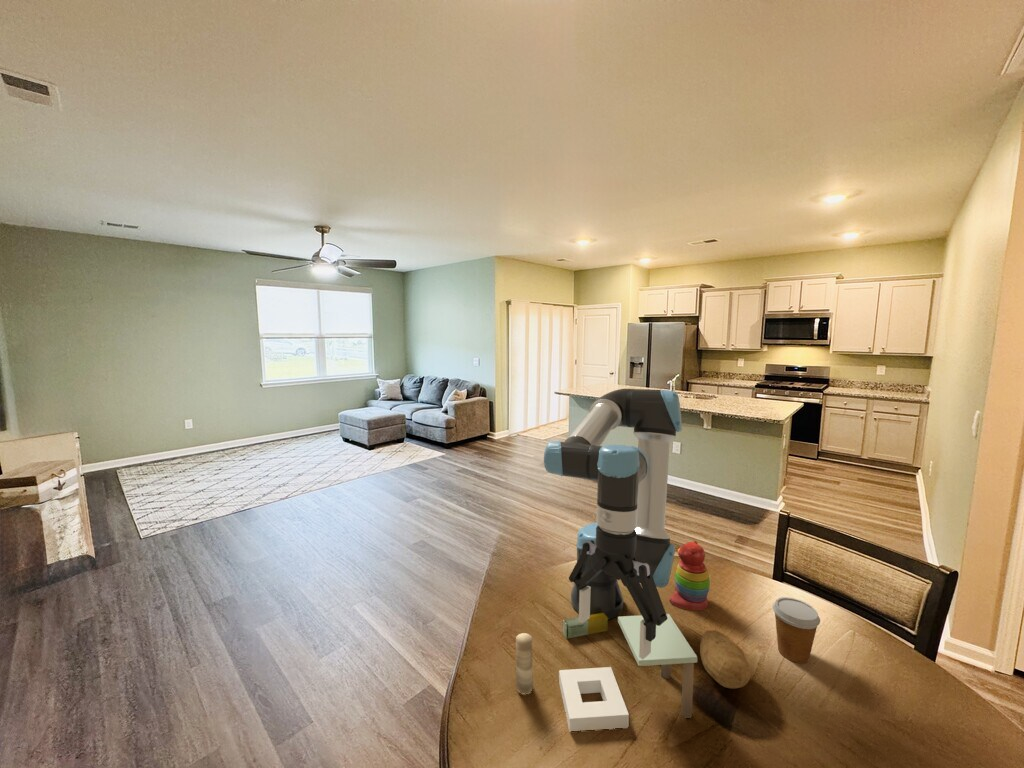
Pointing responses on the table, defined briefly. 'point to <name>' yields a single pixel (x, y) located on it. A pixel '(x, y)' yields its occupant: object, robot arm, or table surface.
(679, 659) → the mint green toy table
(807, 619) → the disposable coffee cup
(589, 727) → the socket block
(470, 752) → the table surface
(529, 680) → the peg
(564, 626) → the medication box
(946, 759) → the table surface
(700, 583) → the stacking bear
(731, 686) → the potato
